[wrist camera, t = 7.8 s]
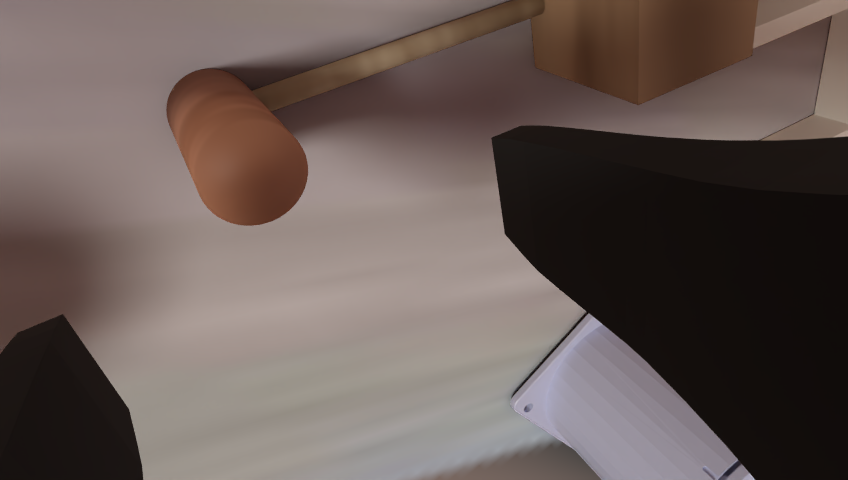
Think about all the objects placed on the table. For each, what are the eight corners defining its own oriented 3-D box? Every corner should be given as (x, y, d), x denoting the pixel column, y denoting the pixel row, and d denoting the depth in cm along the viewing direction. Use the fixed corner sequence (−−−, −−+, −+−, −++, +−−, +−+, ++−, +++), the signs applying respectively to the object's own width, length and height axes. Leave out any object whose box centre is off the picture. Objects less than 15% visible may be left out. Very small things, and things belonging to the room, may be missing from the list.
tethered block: (635, -108, 20) (770, -110, 16) (635, 28, 23) (752, 55, 19) (133, 46, 16) (153, 96, 12) (202, 196, 18) (237, 278, 14)
